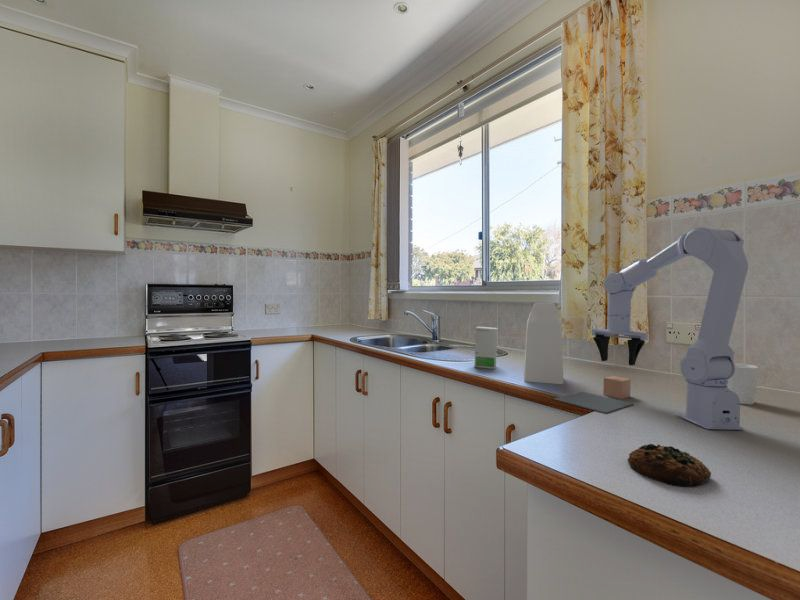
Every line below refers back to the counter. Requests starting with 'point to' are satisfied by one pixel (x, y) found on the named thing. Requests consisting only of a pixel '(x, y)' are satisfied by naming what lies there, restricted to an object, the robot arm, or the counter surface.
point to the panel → (594, 402)
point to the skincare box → (486, 347)
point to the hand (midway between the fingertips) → (617, 362)
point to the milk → (543, 345)
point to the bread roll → (669, 465)
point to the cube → (617, 387)
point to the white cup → (744, 382)
